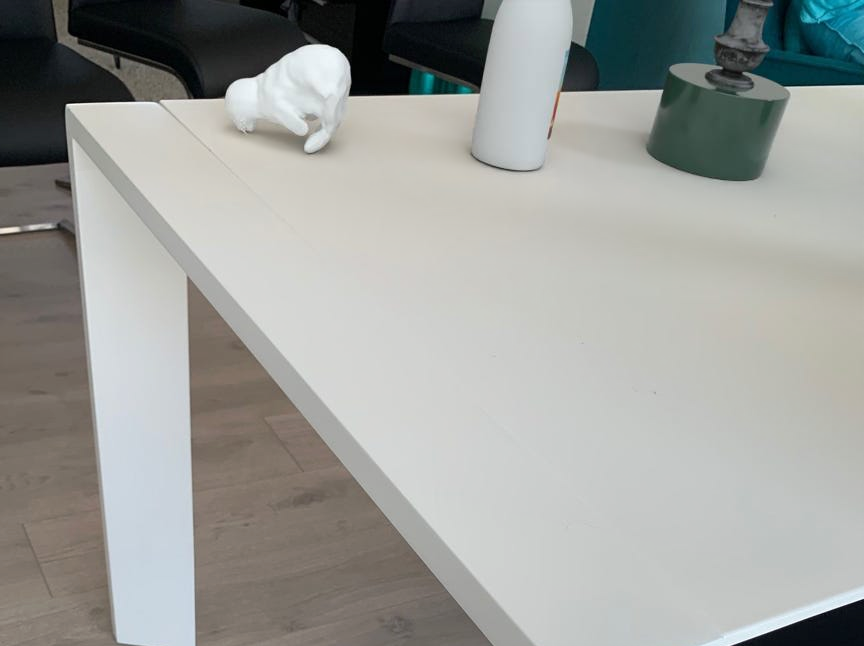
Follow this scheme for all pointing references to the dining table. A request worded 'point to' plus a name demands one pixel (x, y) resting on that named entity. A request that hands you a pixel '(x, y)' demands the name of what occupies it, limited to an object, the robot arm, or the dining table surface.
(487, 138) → the milk bottle
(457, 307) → the dining table surface
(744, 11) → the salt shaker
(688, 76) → the pedestal
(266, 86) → the white figurine
